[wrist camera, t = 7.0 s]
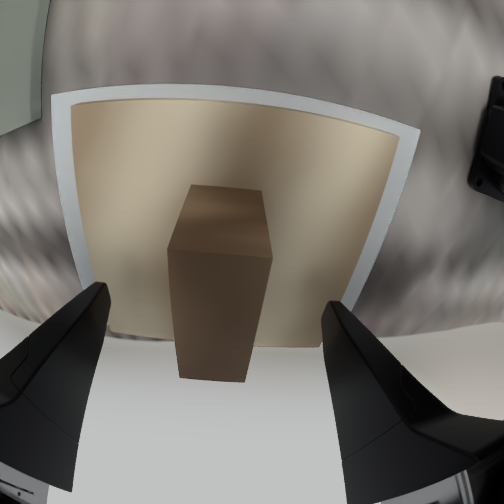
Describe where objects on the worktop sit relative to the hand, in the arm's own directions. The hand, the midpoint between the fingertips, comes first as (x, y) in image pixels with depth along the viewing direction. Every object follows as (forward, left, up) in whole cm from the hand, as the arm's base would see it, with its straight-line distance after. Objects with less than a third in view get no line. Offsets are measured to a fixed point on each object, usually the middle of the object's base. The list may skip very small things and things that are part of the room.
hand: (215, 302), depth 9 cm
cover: (0, 0, -4) cm, 4 cm away
